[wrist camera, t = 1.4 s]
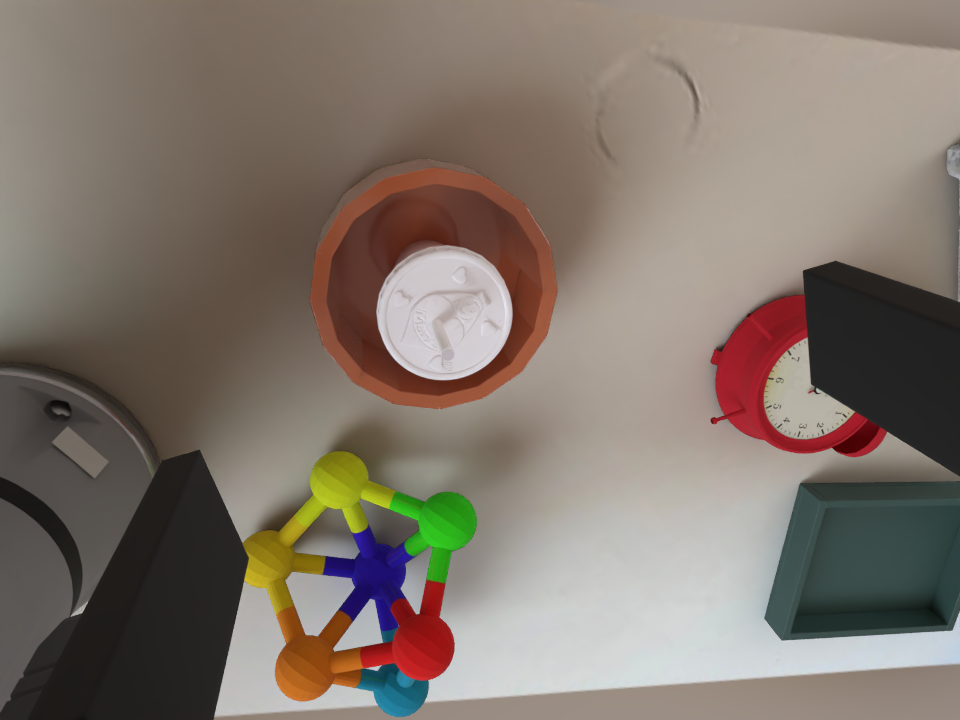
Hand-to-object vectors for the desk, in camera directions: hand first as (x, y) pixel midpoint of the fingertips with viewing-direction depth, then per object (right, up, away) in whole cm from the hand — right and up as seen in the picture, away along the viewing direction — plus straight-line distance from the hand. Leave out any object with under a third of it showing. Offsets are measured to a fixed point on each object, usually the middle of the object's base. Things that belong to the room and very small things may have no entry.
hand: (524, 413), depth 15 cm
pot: (-4, +6, +27) cm, 28 cm away
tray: (+30, -14, +41) cm, 52 cm away
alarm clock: (+21, 0, +34) cm, 40 cm away
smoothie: (-4, +6, +27) cm, 28 cm away
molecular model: (-9, -11, +33) cm, 36 cm away
